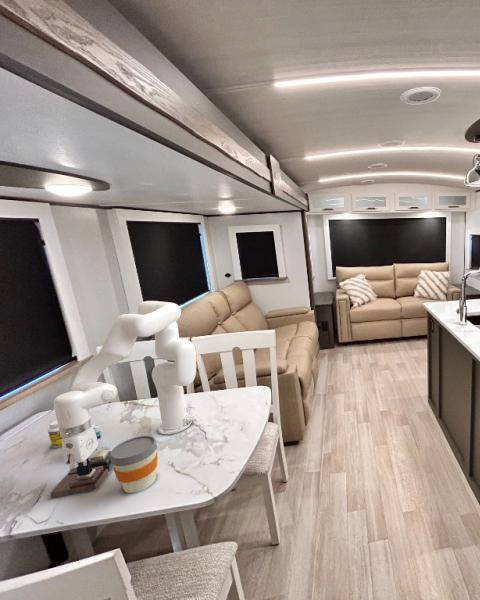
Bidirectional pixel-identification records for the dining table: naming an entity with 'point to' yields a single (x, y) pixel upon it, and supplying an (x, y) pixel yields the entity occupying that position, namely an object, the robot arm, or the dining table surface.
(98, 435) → the light bulb box
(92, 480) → the key block
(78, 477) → the key
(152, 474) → the reusable coffee cup
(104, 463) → the key block
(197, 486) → the dining table surface
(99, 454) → the key
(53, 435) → the supplement bottle
